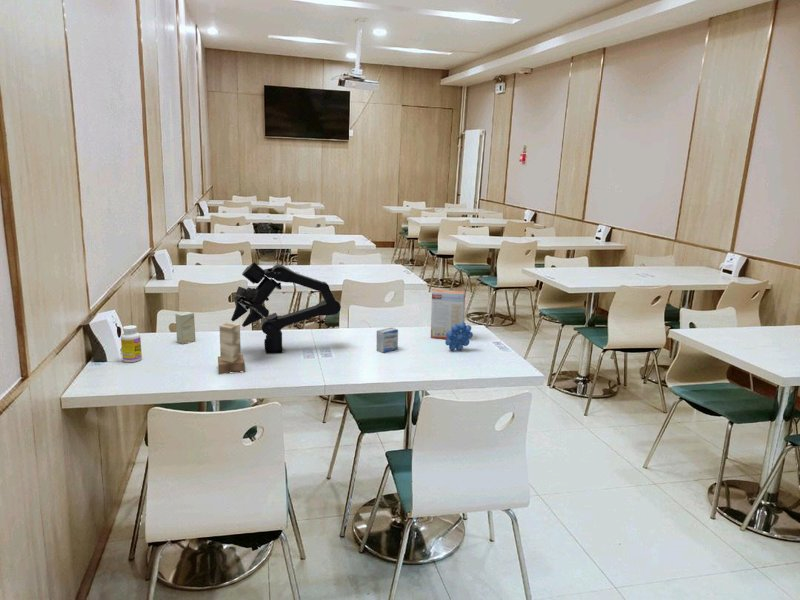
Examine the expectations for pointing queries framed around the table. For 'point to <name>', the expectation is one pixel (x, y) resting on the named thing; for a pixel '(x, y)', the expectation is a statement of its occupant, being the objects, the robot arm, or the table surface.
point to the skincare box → (185, 327)
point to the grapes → (459, 336)
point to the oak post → (230, 342)
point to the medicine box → (387, 340)
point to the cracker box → (446, 311)
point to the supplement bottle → (131, 344)
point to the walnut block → (231, 365)
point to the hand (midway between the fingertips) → (237, 323)
